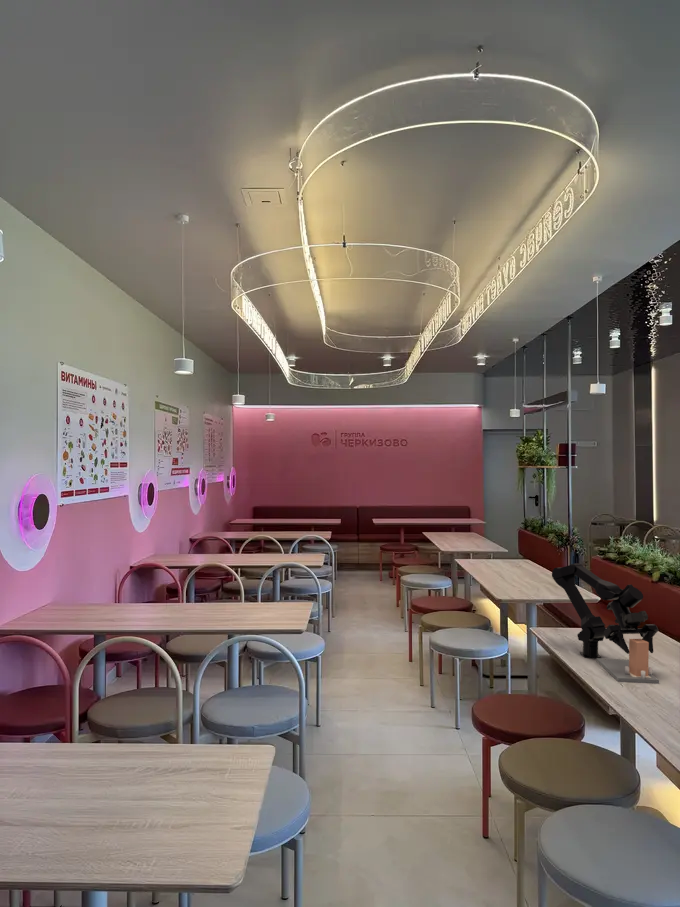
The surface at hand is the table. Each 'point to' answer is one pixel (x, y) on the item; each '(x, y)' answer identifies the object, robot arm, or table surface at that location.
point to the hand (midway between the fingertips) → (640, 653)
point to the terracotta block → (638, 656)
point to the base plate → (625, 671)
